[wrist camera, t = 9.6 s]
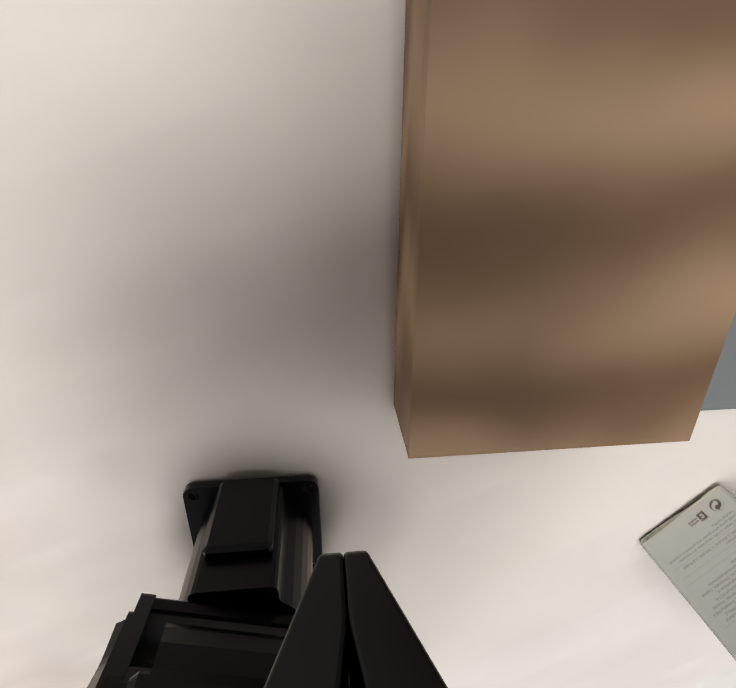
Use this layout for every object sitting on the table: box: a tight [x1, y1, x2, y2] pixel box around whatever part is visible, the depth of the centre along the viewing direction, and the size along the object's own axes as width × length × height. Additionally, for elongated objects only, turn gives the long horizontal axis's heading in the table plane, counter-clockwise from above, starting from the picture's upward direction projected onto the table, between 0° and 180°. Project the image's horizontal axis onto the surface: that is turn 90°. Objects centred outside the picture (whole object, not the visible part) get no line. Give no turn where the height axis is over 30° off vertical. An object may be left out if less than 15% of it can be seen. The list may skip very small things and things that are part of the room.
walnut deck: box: [394, 0, 736, 458], centre depth 17 cm, size 18×12×4 cm, turn 0°
